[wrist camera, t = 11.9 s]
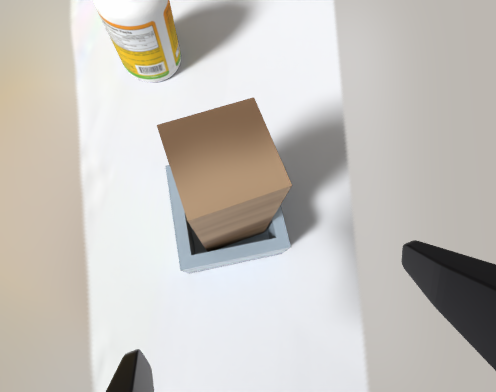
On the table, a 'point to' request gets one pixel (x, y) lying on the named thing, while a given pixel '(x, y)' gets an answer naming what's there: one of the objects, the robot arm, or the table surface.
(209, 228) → the walnut block
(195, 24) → the table surface
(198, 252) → the bin
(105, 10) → the supplement bottle
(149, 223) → the table surface
